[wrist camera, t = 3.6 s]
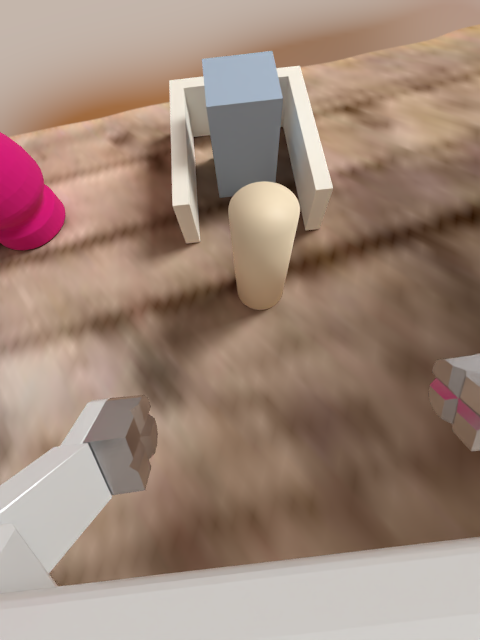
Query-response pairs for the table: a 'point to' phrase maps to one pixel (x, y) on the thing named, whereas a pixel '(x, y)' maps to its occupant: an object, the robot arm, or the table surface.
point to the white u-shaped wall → (300, 139)
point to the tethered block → (251, 171)
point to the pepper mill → (25, 200)
